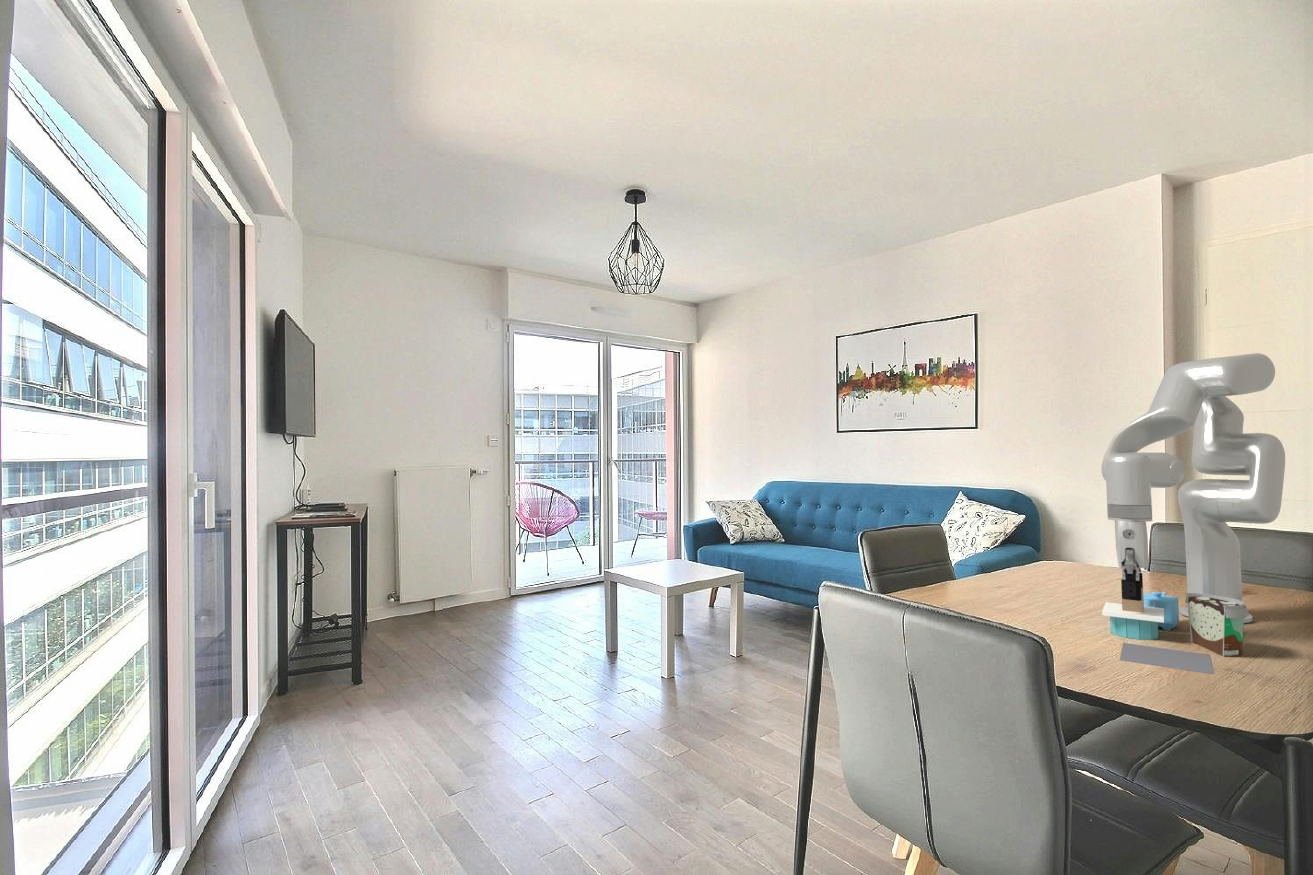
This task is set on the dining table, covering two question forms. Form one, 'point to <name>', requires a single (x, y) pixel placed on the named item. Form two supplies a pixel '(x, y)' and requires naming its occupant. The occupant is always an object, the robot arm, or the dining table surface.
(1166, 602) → the teapot
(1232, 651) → the food container
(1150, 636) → the bowl
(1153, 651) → the mat
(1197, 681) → the dining table surface
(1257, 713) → the dining table surface
